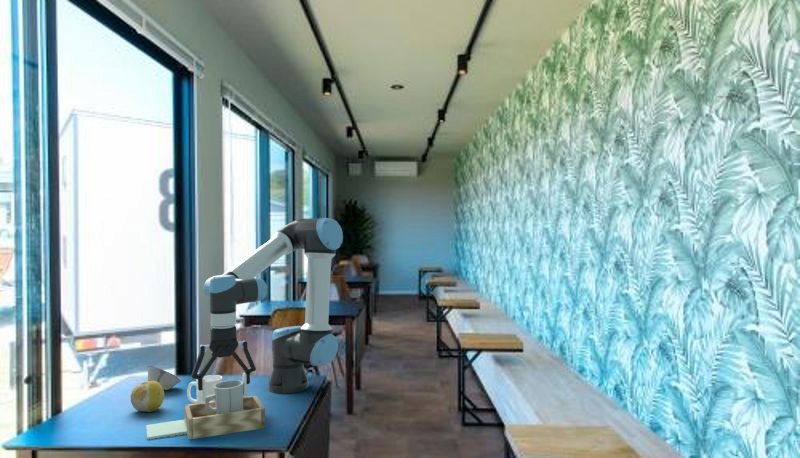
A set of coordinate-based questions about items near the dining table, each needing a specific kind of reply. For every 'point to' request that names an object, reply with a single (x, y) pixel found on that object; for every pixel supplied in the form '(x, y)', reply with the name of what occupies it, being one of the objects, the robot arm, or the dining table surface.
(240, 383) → the cup
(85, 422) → the dining table surface
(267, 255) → the robot arm
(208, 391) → the cup
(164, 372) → the bowl
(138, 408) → the fruit
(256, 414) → the caddy
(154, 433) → the mat
